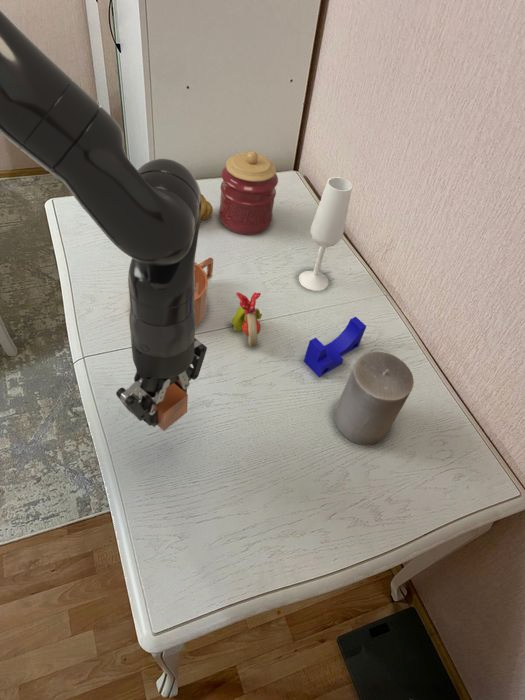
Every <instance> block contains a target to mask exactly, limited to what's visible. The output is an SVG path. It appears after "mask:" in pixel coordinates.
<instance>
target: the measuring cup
mask: <svg viewBox="0 0 525 700" xmlns="http://www.w3.org/2000/svg"><path fill="white" fill-rule="evenodd" d="M205 268H206V271H205V270H204V269H205ZM213 272H214V258H213V257H208V258H206V259H205V260H203V261H201V262H199V263H197V262H194V277H195V291H194V310H195V318H196V322H195V328H196V327H197V326H199V325H200V323H202V321H203V320H204V318H205V316H206V313H207V308H208V291H209V290H208V289H209V280H211V279H212V278H213V274H214V273H213Z"/></svg>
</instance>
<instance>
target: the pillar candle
mask: <svg viewBox="0 0 525 700" xmlns="http://www.w3.org/2000/svg"><path fill="white" fill-rule="evenodd" d="M412 373H413V372H412V371H411V369H410V368H409V366H408V365H407V364H406V362H404V361H403V360H402V359H400V358H399V357H397V356H395V355H394V354H392V353H389V352H385V351H377V350H376V351H370V352H366V353H364V354H362V355H360V356H359V357H358V358H356V359H355V360H354V363H353V365H352V369H351V372H350V374H349V376H348V379H347V381H346V383H345V386H344V388H343V391H342V393H341V395H340V398H339V400H338V403H337V405H336V408H335V410H334V414H333V418H334V419H333V421H334V424H335V426H336V427H337V429H338V431H339V432H340V433H341V434H342V436H343V437H344V438H346V439H347V440H348V441H350V442H352V443H355V444H357V445H362V446H368V445H375V444H377V443H379V442H381V441H383V439H384V438H385V437H386V435H387V433H388V432H389V430H390V429H391V427H392V425H393V423H394V422H395V420H396V418H397V417H398V415H399V414H400V411H401V410H402V408H403V406H404V404H405V403H406V402H407V399H408V398H409V395H410V394H411V393H412V390H413V387H414V384H415V381H414V376H413V374H412Z"/></svg>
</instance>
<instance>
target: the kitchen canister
mask: <svg viewBox="0 0 525 700" xmlns="http://www.w3.org/2000/svg"><path fill="white" fill-rule="evenodd" d="M220 173H221V179H222V181H221V184H220V200H219V201H220V202H219V207H218V216H219V221H220V223H221V225H222V226H223V227H224V228H225V229H226V230H229V231H230V232H233V233H236V234H239V235H245V236H253V235H258V234H261V233H263V232H265V231H266V230H267V229H268V228H269V227H270V225H271V222H272V220H273V211H274V203H275V198H276V197H277V196H276V195H277V190H276V187H277V185H278V183H279V178H278V175H277V168H276V166H275V164H274V163H273V162H272V161H271V160H270V159H269V158H267V157H265V156H264V155H262V154H259V153H257V152H256V151H253V150H250V151H245V152H239V153H238V154H235V155H233V156H231V157H229V158H228V159H227V160H226V161H225V166H224V168H222V170H221V172H220Z"/></svg>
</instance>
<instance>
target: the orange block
mask: <svg viewBox="0 0 525 700" xmlns="http://www.w3.org/2000/svg"><path fill="white" fill-rule="evenodd" d="M188 396H189V394H188V392H187V393H185V392H184V391H183V390H182V389H181V388H179V387H178V386H177V385H176V384H175V383H173V384H171V385H170V386H169V387H167V389H166V392H165V395H164V399H163V401H162V402H160V403H159V405H158V408H157V411H158V425H157V426H158V427H159V429H161V430H162V431H163V432H165V431H167V430H168V429H169V428H170V427H171V426H172V425H173V424H175V423H176V422H177V421H178V420H180V419H181V418H182V417H183V416H185V415H186V414H187V413H188V402H189V401H188V400H189V399H188V398H189V397H188ZM148 401H149V400H148Z"/></svg>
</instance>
